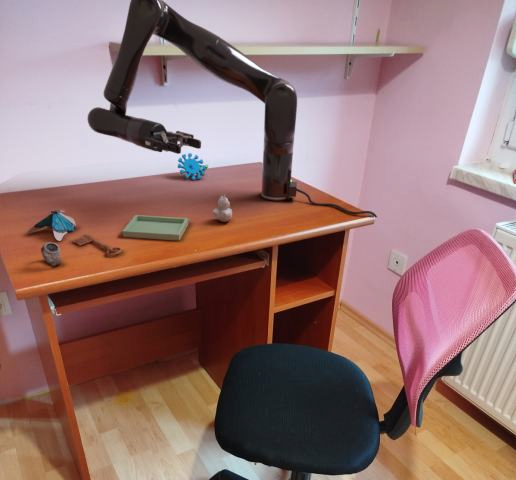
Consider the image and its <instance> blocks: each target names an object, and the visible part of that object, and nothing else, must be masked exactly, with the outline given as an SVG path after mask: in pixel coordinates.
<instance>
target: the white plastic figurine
mask: <svg viewBox="0 0 516 480" xmlns="http://www.w3.org/2000/svg"><path fill="white" fill-rule="evenodd" d="M230 204H231V202H230V201H229V199H228V198H227V197H226V193H223V195H221V196H220V197H219V199H218V200H217V207H216V208H214V209H213V210H212V211H211V213H212V219H213V220H218V221H219V222H222V223H227V222H229V221H231V220H232V218H233V210H232V209H231V208H230Z"/></svg>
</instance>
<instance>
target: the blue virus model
mask: <svg viewBox="0 0 516 480" xmlns="http://www.w3.org/2000/svg"><path fill="white" fill-rule="evenodd" d="M192 156H193V153H191V152H188V154H186V153H182V155H181V157H179V158H178V159H177V161H178V164H177V168H178V169H180V170H179V173H180V175H184V174H185V173H186V174H185V175H184V178H186V179H189V178H190V176H191V178H190V180H191V181H195V180H196V178H197V180H201V179H202V176H205V174H206V172H205V171H206V170H208V168H209V164H205V165H203V164H204V159H201V158H200V159H199V155H197V154H195V155H194V157H193V158H192ZM187 157H188V158H187ZM196 175H197V177H196Z"/></svg>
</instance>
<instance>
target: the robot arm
mask: <svg viewBox="0 0 516 480" xmlns="http://www.w3.org/2000/svg"><path fill="white" fill-rule="evenodd" d="M126 16H127V17H126V21H125V26H124V31H123V34H122V39H121V42H120V46H119V48H118V52H117V53H116V57H115V60H114V62H113V65H112V68H111V70H110V73H109V75H108V78H107V81H106V84H105V87H104V89H103V97H104V99H105V100H106V101H107V102H108V103H109V109H107V108H104V107H99V106H98V107H97V106H96V107H94V108H92V109H90V111H89V112H88V114H87V117H86V118H87V124H88V126H89V127H90V130H92V131H93V132H95V133H96V134H100V135H106V136H109V137H113V138H117V139H119V140H122V141H124V142H126V143H127V142H128V143H131V144H133V145H134V146H137V147H140V148H143V149H146V150H149V151H152V152H157V153H162V152H166V153H167V152H170V153H174V154H177V155H179V154H181V153H182V148H183V146H186V147H191V148H195V149H197V150H199V149H201V148H202V140H200V139H198V138H194V137H195V136H194V134H191V133H188V132H184V131H180V130H176V131H175V132H173V131H169V130H167V129H166V127H165V125H164V124H162V123H161V122H156V121H153V120H150V119H145V118H142V117H135V116H132V115H127V109H128V102H129V100H130V97H131V95H132V92H133V90H134V87H135V85H136V82H137V77H138V74H139V70H140V65H141V61H142V59H143V55H144V52H145V50H146V47H147V46H148V44H149V42H150V40H151V38H152V37H153V35H154V36H156V37H158V38H160V39H163V40H164V41H165V42H168V43H170V44H171V45H173V46H175V47H176V48H177V49H178V50H180V51H181V52H182V53H183V54H185V56H187V57H188V59H190V60H191V61H192V62H193V63H195V64H196V65H197V66H198V67H200V68H201V69H203V70H204V71H205V72H207V73H209V74H210V75H211V76H213V77H215V78H216V79H219V80H220V81H223V82H224V83H227V84H229V85H231V86H233V87H237V88H239V89H242V90H244V91H246V92H248V93H250V94H251V95H253V96H254V97H256V98H257V99H258V100H259V101H261V102H262V103H263V104H264V123H263V148H262V149H263V151H262V174H261V175H262V176H261V193H260V196H261V197H262V198H263V199H265V200H269V201H277V202H279V201H280V202H281V201H290V198H291V197H292V198H295V197H297V192H298V193H300V194H302V195H304V196H306V198H307V199H308V202H309V203H310V204H312V205H314V206H321V207H326V206H327V207H328V206H329V207H335V208H338V209H339V210H341V211H343V212H345V213H348V214H350V215H362V214H363V215H364V214H370V215H372V216H373V217H374V218H378V215H377V214H375V212H373V211H370V210H361V211H360V210H359V211H352V210H349V209H347V208H345V207H344V206H341V205H339V204H337V203H336V204H335V203H326V202H323V203H320V202H315V201H313V200H312V199H311V196H310V195H309V194H308V193H307V192H306V191H303V190H302V189H299V188H298V182H297V181H292V173H293V157H294V143H295V135H296V123H297V111H298V94H297V90H296V88H295V86H294V85H293V83H291V82H289V81H288V80H285V79H284V78H281V77H279V76H277V75H275V74H274V73H272V72H269V71H267V70H266V69H264V68H263V67H261V66H259V65H258V64H257V63H255V62H254V60H252V59H251V58H249V56H247V55H245V54H244V53H243V52H242V51H240V50H239V49H238V48H237V47H236V46H234V45H232V44H231V43H230V42H228V41H226V40H225V39H224V38H221V37H220V36H219V35H217V34H215V33H214V32H212V31H210V30H208V29H207V28H205V27H202V26H200V25H198V24H196V23H194V22H192V21H190V20H188V19H187V18H185V17H184V16H182V15H181V14H180V13H179V12H177V11H176V10H175V9H173V7H171V6H170V5H169V4H168V3H167V2H165V1H164V0H130V2H129V5H128V10H127V15H126Z"/></svg>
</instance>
